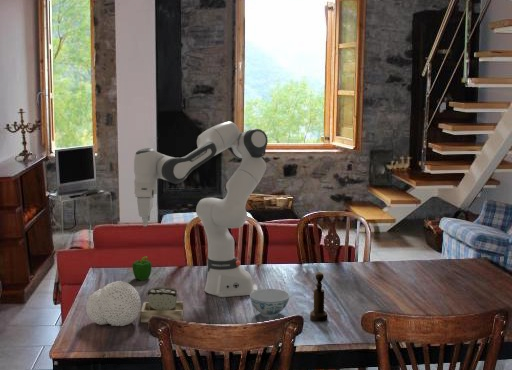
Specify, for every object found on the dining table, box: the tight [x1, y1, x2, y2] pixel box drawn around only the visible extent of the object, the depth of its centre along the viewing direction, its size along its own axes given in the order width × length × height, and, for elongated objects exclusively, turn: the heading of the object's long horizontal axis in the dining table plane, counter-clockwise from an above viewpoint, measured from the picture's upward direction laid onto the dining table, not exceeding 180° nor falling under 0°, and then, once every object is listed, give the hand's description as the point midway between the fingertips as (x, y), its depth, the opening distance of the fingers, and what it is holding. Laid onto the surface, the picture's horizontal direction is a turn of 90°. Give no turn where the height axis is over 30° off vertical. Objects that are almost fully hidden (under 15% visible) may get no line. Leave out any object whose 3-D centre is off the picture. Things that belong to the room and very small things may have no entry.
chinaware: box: [249, 288, 290, 318], centre depth 263 cm, size 15×15×8 cm
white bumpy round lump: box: [85, 280, 142, 327], centre depth 251 cm, size 20×18×16 cm
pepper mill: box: [309, 272, 328, 323], centre depth 257 cm, size 7×6×18 cm
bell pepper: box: [132, 256, 153, 281], centre depth 306 cm, size 8×8×10 cm
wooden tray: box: [140, 301, 184, 323], centre depth 259 cm, size 15×10×4 cm
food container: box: [145, 286, 179, 310], centre depth 259 cm, size 12×6×10 cm, turn 81°
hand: (146, 223), depth 277 cm, fingers open, 8 cm apart
